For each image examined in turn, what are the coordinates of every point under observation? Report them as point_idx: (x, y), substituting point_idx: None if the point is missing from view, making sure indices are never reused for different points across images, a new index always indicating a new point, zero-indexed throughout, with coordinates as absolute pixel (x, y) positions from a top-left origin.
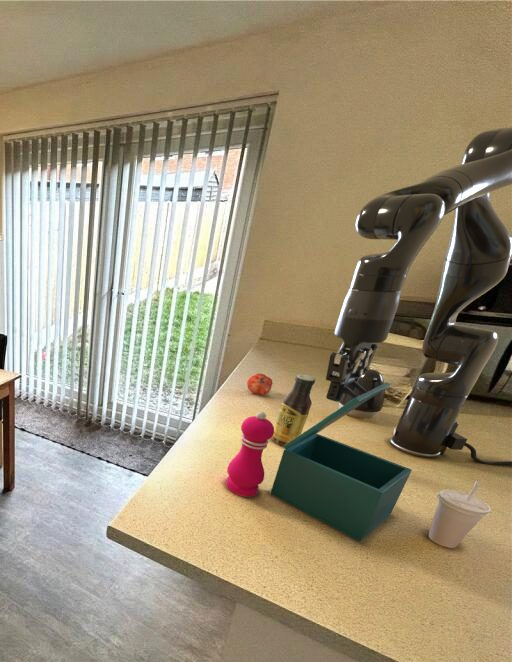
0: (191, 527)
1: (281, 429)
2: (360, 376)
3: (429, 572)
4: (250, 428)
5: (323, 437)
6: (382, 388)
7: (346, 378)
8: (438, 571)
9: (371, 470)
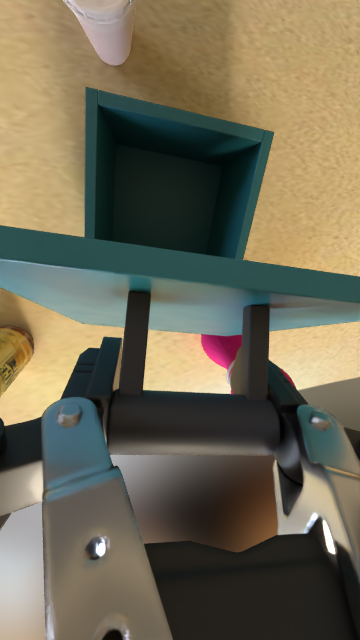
0: (342, 324)
1: (21, 364)
2: (82, 404)
3: (230, 53)
4: None
5: None
6: (92, 242)
7: (348, 443)
8: (217, 39)
9: (103, 182)
